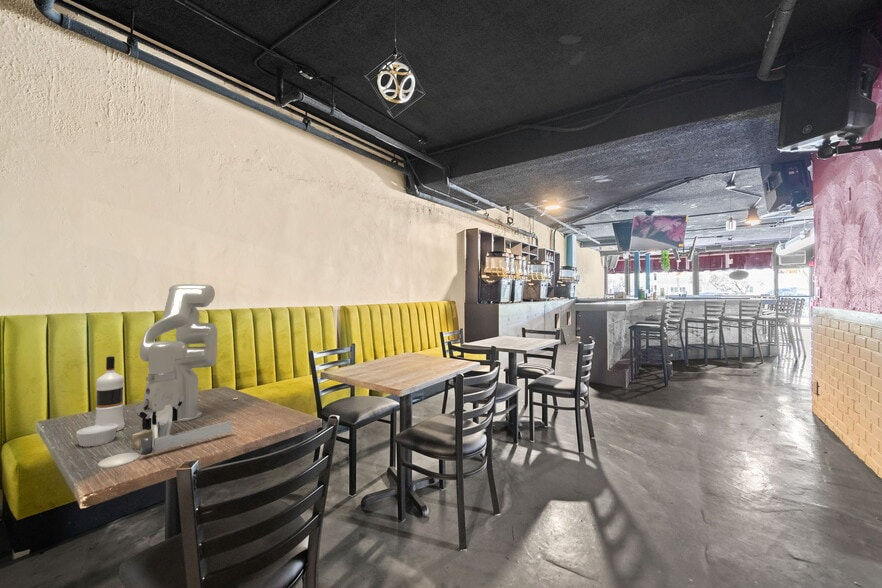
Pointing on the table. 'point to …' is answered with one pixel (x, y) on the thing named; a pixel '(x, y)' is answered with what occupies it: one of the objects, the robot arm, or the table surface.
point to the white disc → (118, 460)
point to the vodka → (110, 396)
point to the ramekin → (96, 434)
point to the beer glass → (161, 422)
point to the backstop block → (139, 438)
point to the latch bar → (184, 437)
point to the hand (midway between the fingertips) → (160, 425)
